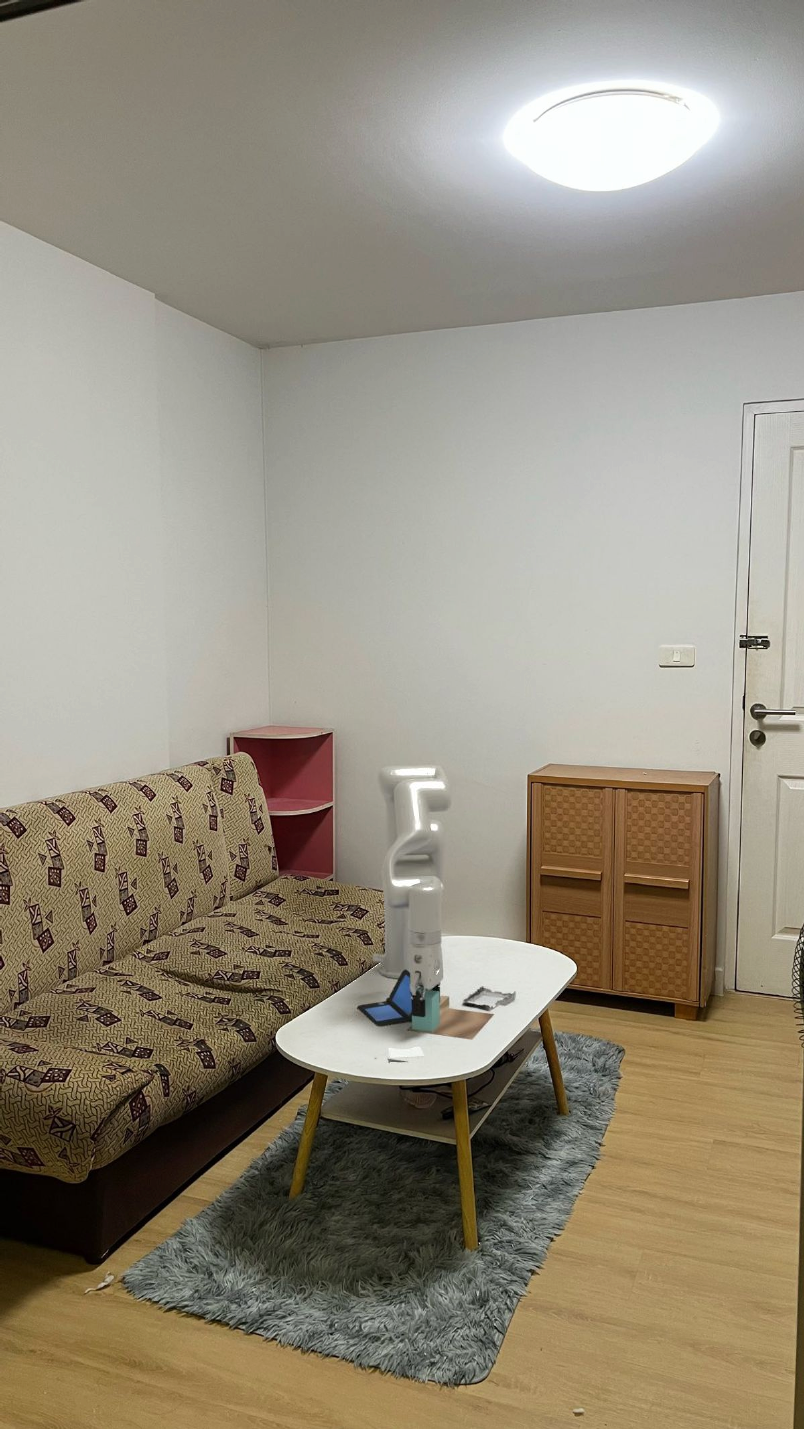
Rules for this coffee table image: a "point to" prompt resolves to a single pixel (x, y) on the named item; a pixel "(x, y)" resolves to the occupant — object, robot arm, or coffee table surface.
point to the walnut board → (458, 1021)
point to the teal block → (428, 1013)
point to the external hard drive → (404, 1053)
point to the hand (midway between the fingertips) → (426, 1009)
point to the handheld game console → (392, 1005)
